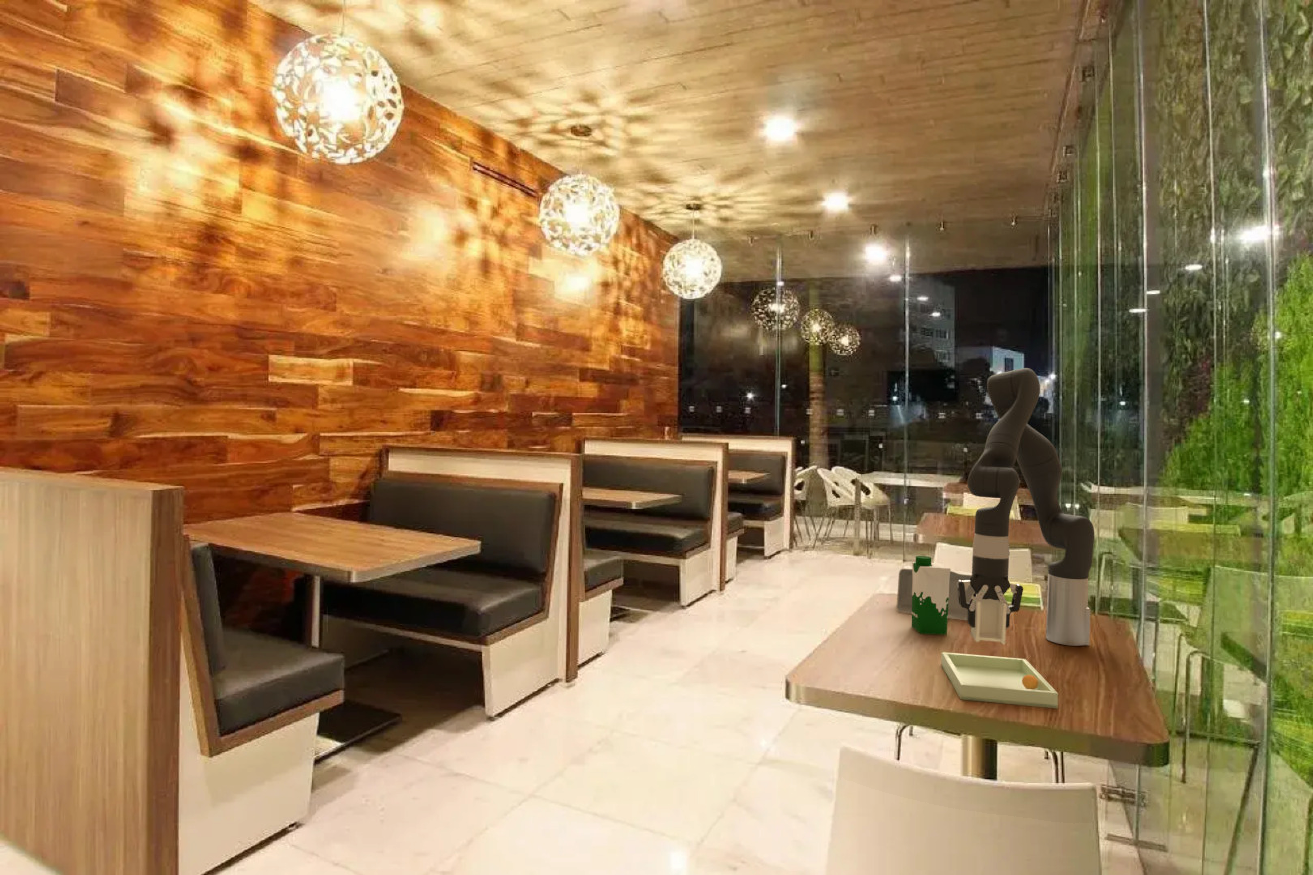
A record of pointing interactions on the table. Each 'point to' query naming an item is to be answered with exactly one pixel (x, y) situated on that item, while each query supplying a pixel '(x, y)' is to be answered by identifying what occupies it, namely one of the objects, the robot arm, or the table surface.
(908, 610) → the grey rectangular box
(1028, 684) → the mixing ball
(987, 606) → the mini side table
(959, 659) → the tray
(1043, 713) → the table surface
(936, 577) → the milk carton
